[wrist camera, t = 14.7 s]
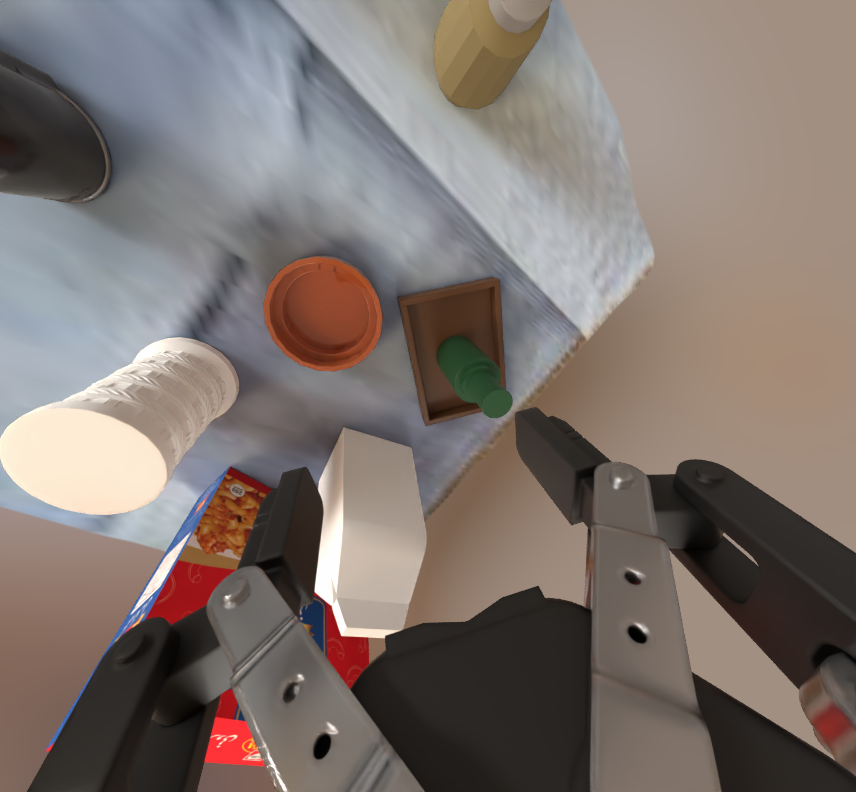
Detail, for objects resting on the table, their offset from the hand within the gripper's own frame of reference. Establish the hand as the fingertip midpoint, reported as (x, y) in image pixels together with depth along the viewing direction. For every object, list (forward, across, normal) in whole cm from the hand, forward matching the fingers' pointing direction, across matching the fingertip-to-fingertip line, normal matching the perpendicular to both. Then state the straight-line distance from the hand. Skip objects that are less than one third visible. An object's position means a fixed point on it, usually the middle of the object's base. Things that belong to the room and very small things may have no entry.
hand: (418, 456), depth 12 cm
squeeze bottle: (+34, -15, -21) cm, 43 cm away
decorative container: (+34, +26, +5) cm, 43 cm away
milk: (+34, +8, +26) cm, 44 cm away
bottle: (+34, -10, +10) cm, 36 cm away
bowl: (+34, +6, 0) cm, 35 cm away
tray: (+34, -10, +10) cm, 37 cm away
